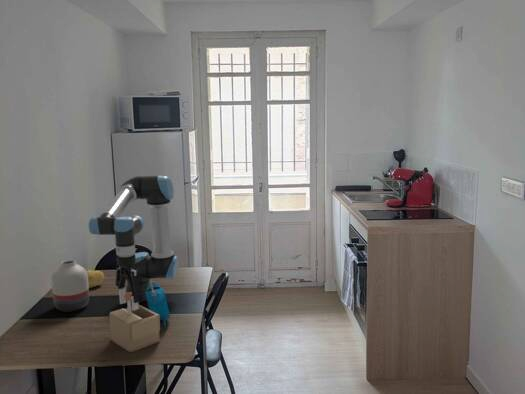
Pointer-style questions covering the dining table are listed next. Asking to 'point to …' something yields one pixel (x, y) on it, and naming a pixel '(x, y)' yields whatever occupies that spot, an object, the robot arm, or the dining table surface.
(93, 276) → the potato
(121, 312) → the flap
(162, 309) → the blue rounded piece
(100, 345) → the dining table surface
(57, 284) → the vase
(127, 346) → the carton
